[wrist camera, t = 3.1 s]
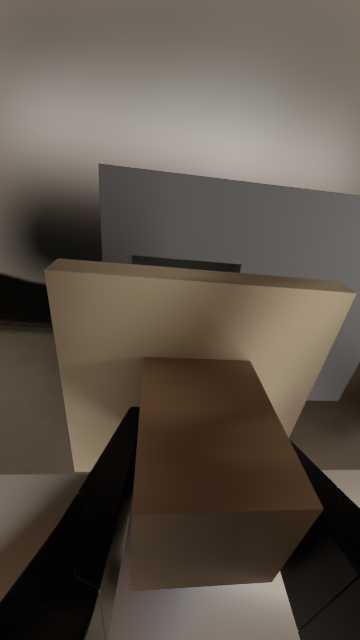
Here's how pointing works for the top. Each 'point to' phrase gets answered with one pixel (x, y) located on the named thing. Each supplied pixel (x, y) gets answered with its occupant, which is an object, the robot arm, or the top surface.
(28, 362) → the top surface
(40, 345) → the top surface
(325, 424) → the top surface
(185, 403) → the lid
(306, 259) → the board
